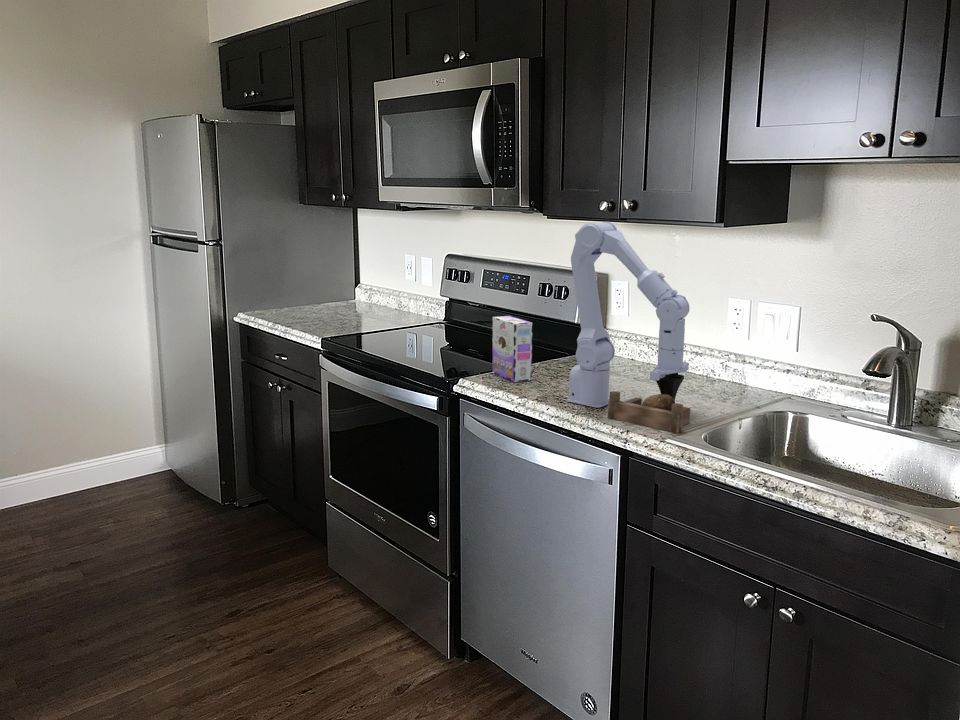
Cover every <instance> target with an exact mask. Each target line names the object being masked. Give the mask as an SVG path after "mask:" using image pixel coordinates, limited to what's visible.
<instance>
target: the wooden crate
mask: <svg viewBox="0 0 960 720" xmlns="http://www.w3.org/2000/svg"><path fill="white" fill-rule="evenodd" d="M642 399H643V398H641V397H634V398H631V399H628V400H626V401H625V400H624V401H622V400H621V392H619V391H617V390H615V391H613V390H612V391H609V401H608V405H607V418H608V419H610V420H617V421H622V422H626V423H630V424H635V425H640V426H644V427H648V428H652V429H656V430H657V429H658V430H661V431H666V432H671V433H674V434H679V433H682V432H683V426H686V425H688V424H690V418H691V417H690V415H691V414H690V413H691V407H686V406H684V405H683V404H681V403H676V402H675V404H672V409H671V411H668V410H663V409H658V408H653V407H648V406H643V405H642V403H643V400H642Z"/></svg>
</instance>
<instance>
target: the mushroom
mask: <svg viewBox="0 0 960 720" xmlns="http://www.w3.org/2000/svg"><path fill="white" fill-rule="evenodd" d="M675 400H676V399H675ZM675 400H674V399H673V398H672V397H671V396H670V395H667V394H661V393H659V394H653V395H650V396H648V397H646V398H645V399H644V400H643V401H642V405H643V406H648V407H653V408H658V409H663V410H668V411H671V409H672V404H675V403H676V401H675Z"/></svg>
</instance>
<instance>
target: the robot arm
mask: <svg viewBox="0 0 960 720" xmlns="http://www.w3.org/2000/svg"><path fill="white" fill-rule="evenodd" d="M574 238H575V242H574V245H573V249H572V251H571V252H572V253H571V255H570V264H571V269H572V276H573V277H572V278H573V283H574V284H573V286H574V291H575V296H576V303H577V310H578V317H579V325H580V332H579V335H578V337H577V338H576V343H577V348H576V352H575V359H576V362H577V363H578V364H577V365H576V364H575V365H574V366H572V368H571V370H570V374H569V378H568V379H569V381H568V389H569V390H568V398H567V399H566V402H569V403H573V404H576V405H577V404H578V405H581V406H582V405H583V406H588V407H590V408H591V407H592V408H597V409H599V408H602V407H606V406H608V401H609V395H610V373H611V372H610V370H611V369H610V368H611V366H610V364H611V363H610V362H611V361H612V360H613V359H614V357H615V352H616V351H615V350H616V349H615V346H614V344H613V343H612V341H611V339H610V334H609V332H608V331H607V330H606V329H605V327H604V324H603V316H602V309H601V302H600V295H599V288H598V283H597V274H596V269H595V263H596V261H597V260H598V259H599V257H600V256H601V255H602V254H603V253H604V254H609V255H612V256H615V257H616V258H617V259H618V260H619V261H620V262H621V264H622V265H624V266H625V268H626V269H627V270H628V271H629V272H630V273H631V274H632V275H633V276H634V277H635V278H636V280H637V284H636V285H637V288H638V290H639V291H640V292H641V293H642V294H643V295H644V296H645V298H647V300H648V301H649V302H650V304H652V306H653V307H654V308H656V309H655V313H656V316H657V319H658V320H659V328H658V351H657V364H656V366H655V367H654V368H653V370H650V372H649V380H653V381H655V383H656V385H657V386H658V389H659V392H660V393H659V394H667V395H670V396H671V397H672V398H673V399H674V400H676V397H677V394H678V390H679V388H680V386H681V384H682V382H683V381H684V380H685V375H683V374H679V373H686V372H688V371H689V365H690V363H689V362H687V361H684V352H685V351H684V349H685V348H684V347H685V331H686V329H685V326H686V317H687V316H688V314H689V313H690V303H689V302H688V300H687V298H686V297H685V296H684V295H683V294H679V293H678V290H677V289H674V288H672V287H671V285H669V283H668V282H667V281H666V280H665V277H666V276H665V275H664V273H663V272H659V271H658V270H655V269H654V270H652V269H649V268H648V267H647V265H646V264H645V263H644V262H643V260H642V259H641V258H640V256H639V255H638V253H637V252H636V251H635V250H634V248H633V247H632V246H631V245H630V243H629V242H628V241H627V239H626V238H625V235H624V234H623V233H622V231H621V230H619V229H618V227H617V226H616V225H615V224H614V223H613V222H610V221H601V222H588V223H584V225H582V226H581V227H580V229H579V230H578V231H577V232H576V233H575V234H574Z"/></svg>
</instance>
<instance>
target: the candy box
mask: <svg viewBox="0 0 960 720" xmlns="http://www.w3.org/2000/svg"><path fill="white" fill-rule="evenodd" d="M491 322H492V324H491V325H492V326H491V331H492V332H491V334H492V335H491V336H492V338H491V339H492V340H491V342H492V344H491V346H492V347H491V349H492V351H491V353H492V359H491V360H492V361H491V362H492V365H491V369H492V370H491V371H492V372H494V373H497V374H498V375H500V376H499V377H501V376H502V377H501V378H503V377H504V378H503V379H505V378H506V379H505V380H508V381H510V382H512V381H513V383H519V382H520V381H522V382H530V380H531V381H532V370H533V369H532V368H533V367H532V366H533V364H532V363H533V362H532V361H533V358H532V357H533V324H534V323H533V322H531V321H527V320H524V319H521V318H518V317H514V316H512V315H503V316H501V315H500V316H492V319H491ZM494 373H493V374H494ZM498 375H497V376H498Z"/></svg>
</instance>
